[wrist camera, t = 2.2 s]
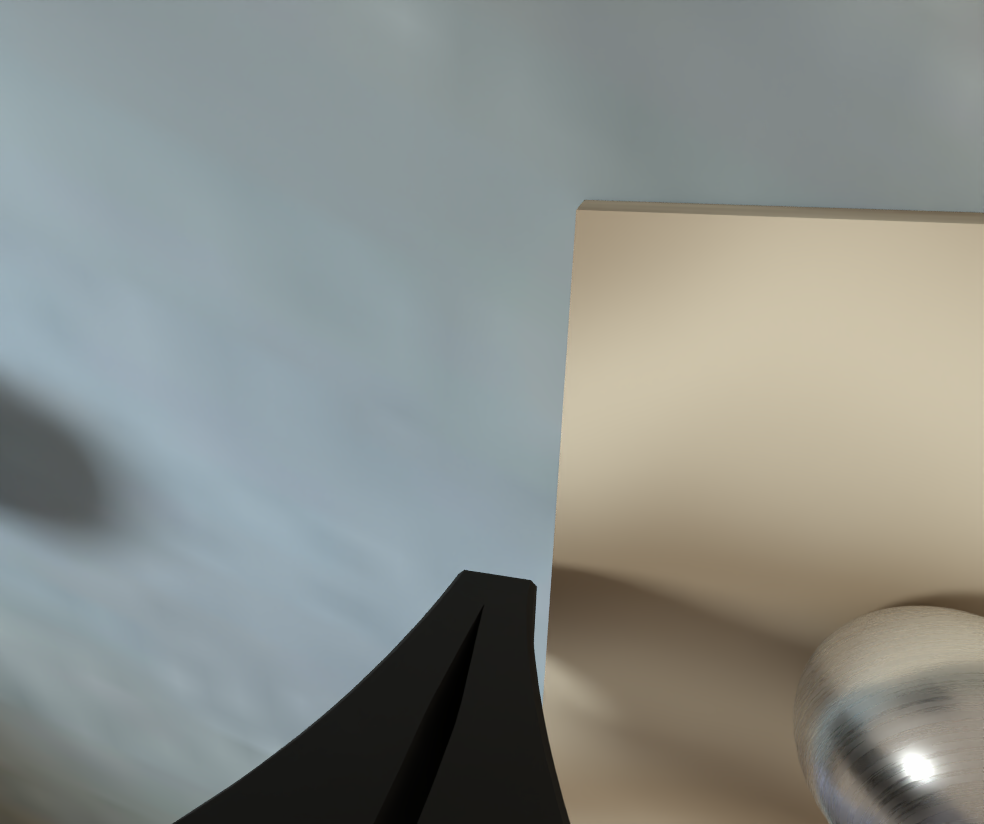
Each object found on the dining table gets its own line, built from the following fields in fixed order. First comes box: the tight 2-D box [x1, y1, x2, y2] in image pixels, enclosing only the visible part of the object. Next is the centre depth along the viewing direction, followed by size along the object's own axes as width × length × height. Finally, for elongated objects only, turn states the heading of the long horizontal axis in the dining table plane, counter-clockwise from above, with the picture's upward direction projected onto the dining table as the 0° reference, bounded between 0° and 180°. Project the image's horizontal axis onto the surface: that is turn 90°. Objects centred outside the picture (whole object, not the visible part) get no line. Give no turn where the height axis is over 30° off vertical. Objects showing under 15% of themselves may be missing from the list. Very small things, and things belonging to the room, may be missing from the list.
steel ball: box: [793, 606, 984, 824], centre depth 8 cm, size 4×4×4 cm
